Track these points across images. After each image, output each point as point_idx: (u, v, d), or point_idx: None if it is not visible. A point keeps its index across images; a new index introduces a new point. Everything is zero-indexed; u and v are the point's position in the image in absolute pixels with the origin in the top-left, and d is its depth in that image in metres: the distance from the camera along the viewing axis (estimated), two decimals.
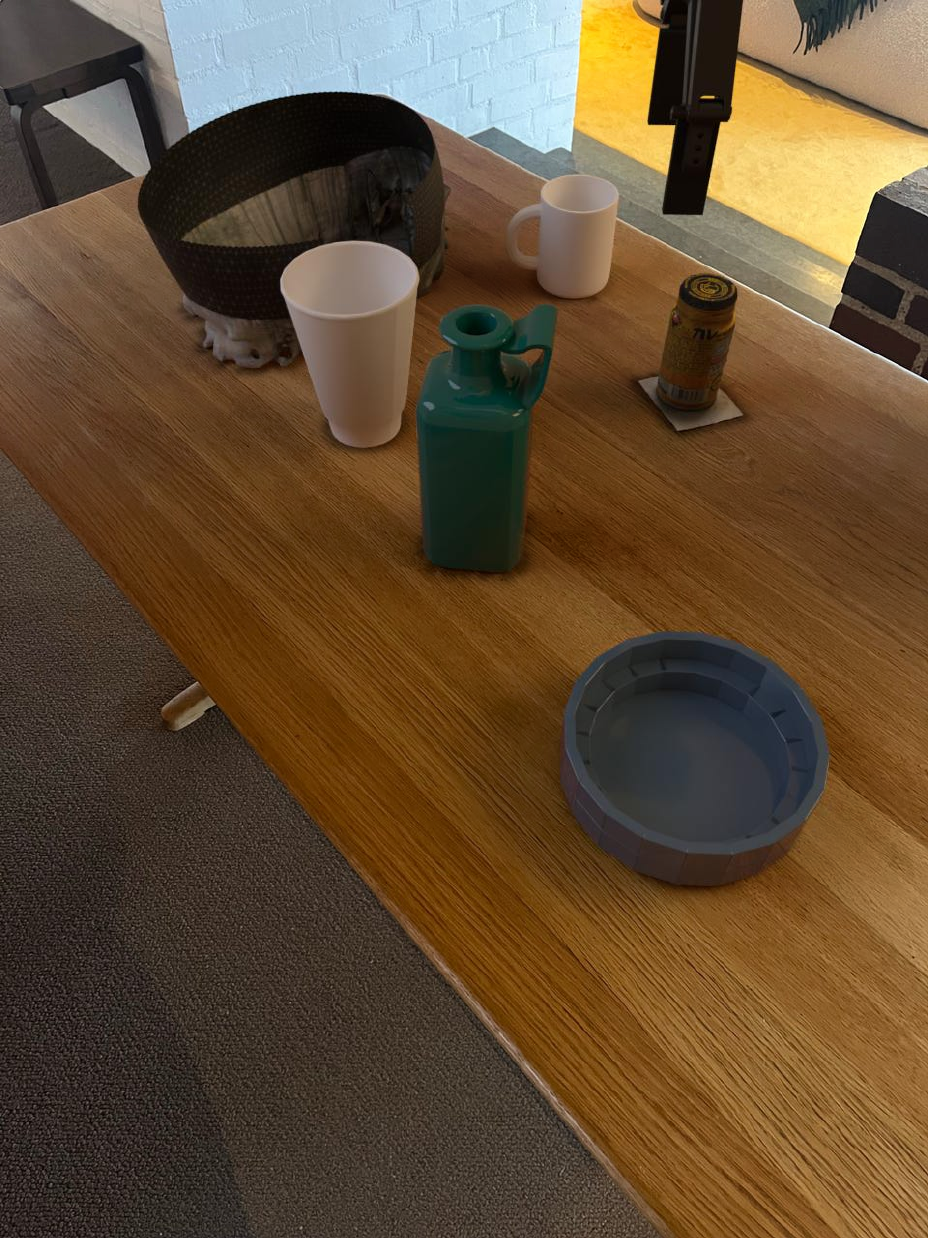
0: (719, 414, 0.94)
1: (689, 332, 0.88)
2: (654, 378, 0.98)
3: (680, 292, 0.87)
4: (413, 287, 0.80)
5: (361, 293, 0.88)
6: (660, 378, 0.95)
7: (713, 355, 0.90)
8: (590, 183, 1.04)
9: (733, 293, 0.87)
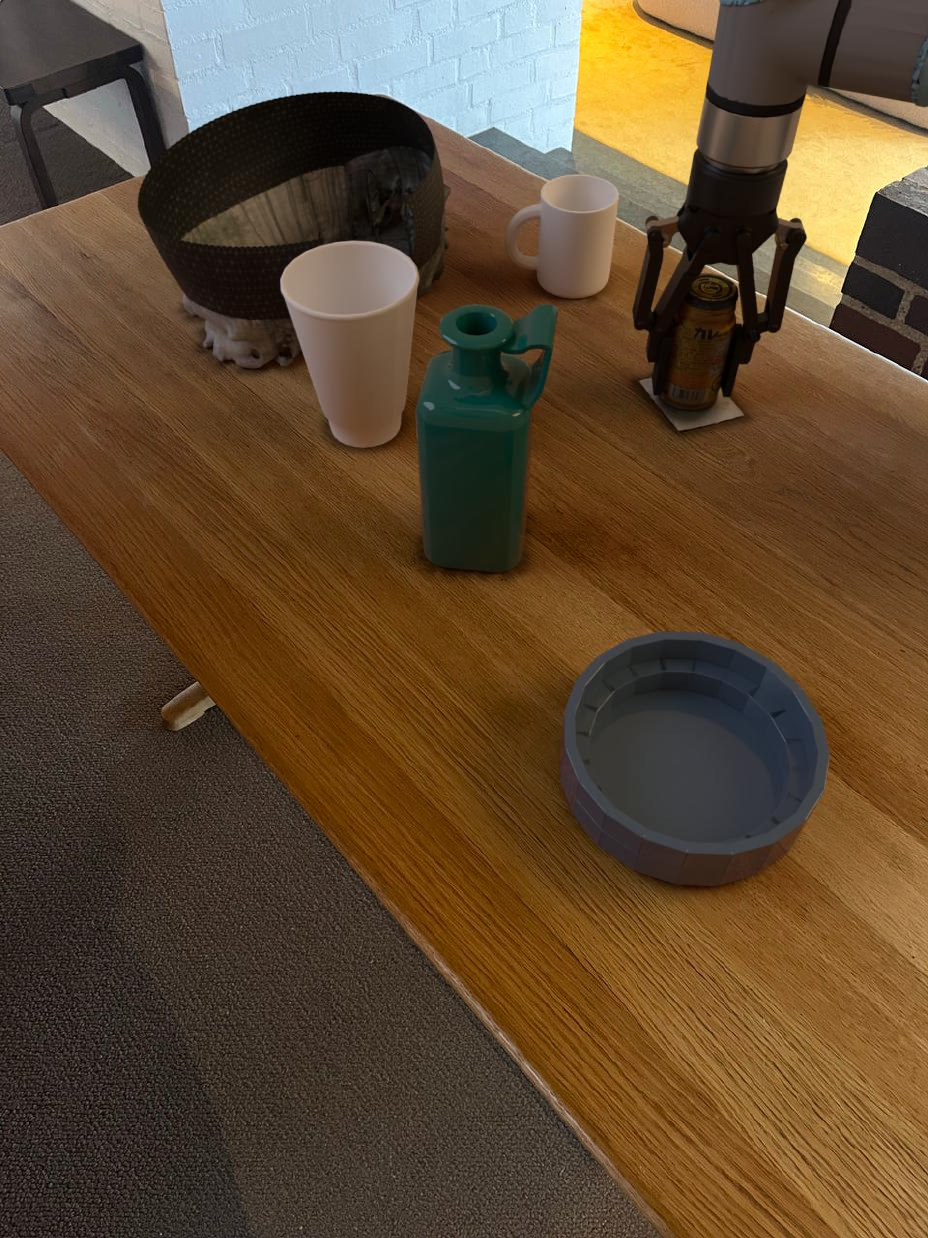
0: (720, 414, 0.94)
1: (690, 332, 0.88)
2: None
3: None
4: (413, 287, 0.80)
5: (361, 292, 0.88)
6: None
7: (714, 355, 0.90)
8: (590, 183, 1.04)
9: (734, 293, 0.87)
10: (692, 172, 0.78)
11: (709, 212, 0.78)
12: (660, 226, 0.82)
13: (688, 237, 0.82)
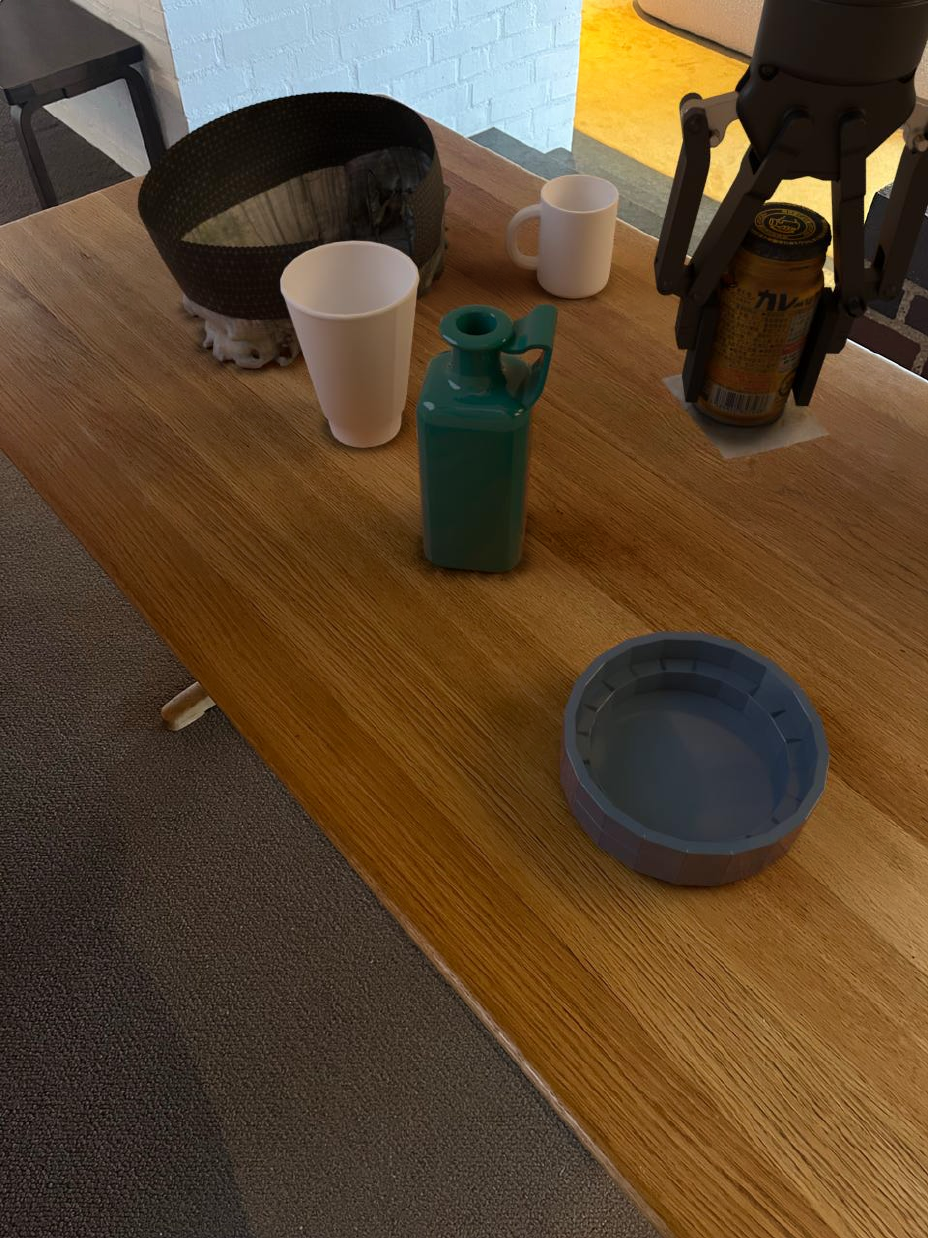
0: (791, 433, 0.59)
1: (749, 299, 0.53)
2: None
3: None
4: (413, 287, 0.80)
5: (361, 293, 0.88)
6: None
7: (788, 337, 0.55)
8: (590, 183, 1.04)
9: (825, 233, 0.52)
10: (767, 2, 0.43)
11: (798, 73, 0.43)
12: (706, 108, 0.47)
13: (755, 128, 0.47)
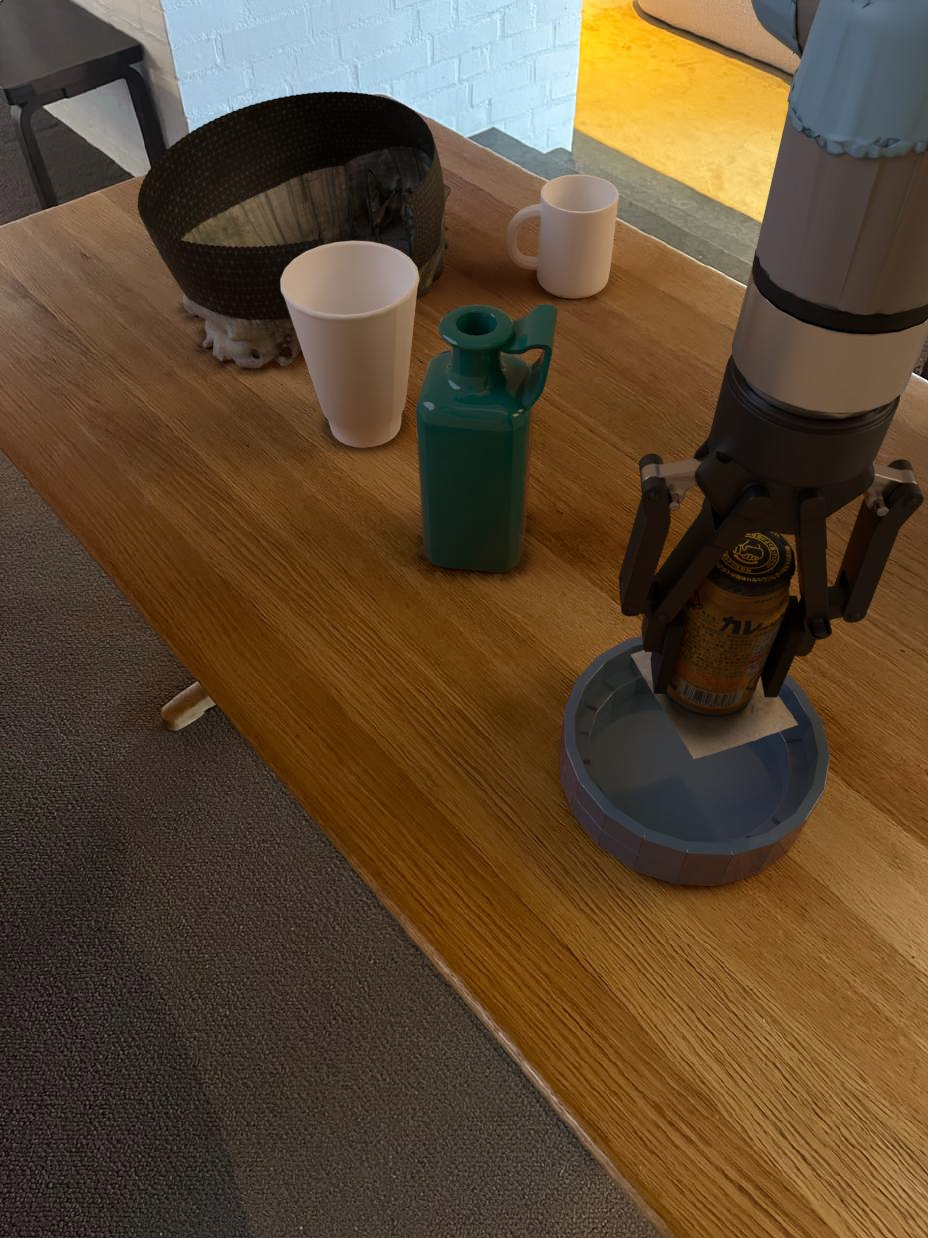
0: (760, 723, 0.59)
1: (714, 623, 0.53)
2: None
3: None
4: (413, 287, 0.80)
5: (361, 292, 0.88)
6: None
7: (754, 652, 0.55)
8: (590, 183, 1.04)
9: (789, 565, 0.52)
10: (723, 401, 0.43)
11: (754, 473, 0.43)
12: (665, 478, 0.46)
13: (714, 497, 0.46)
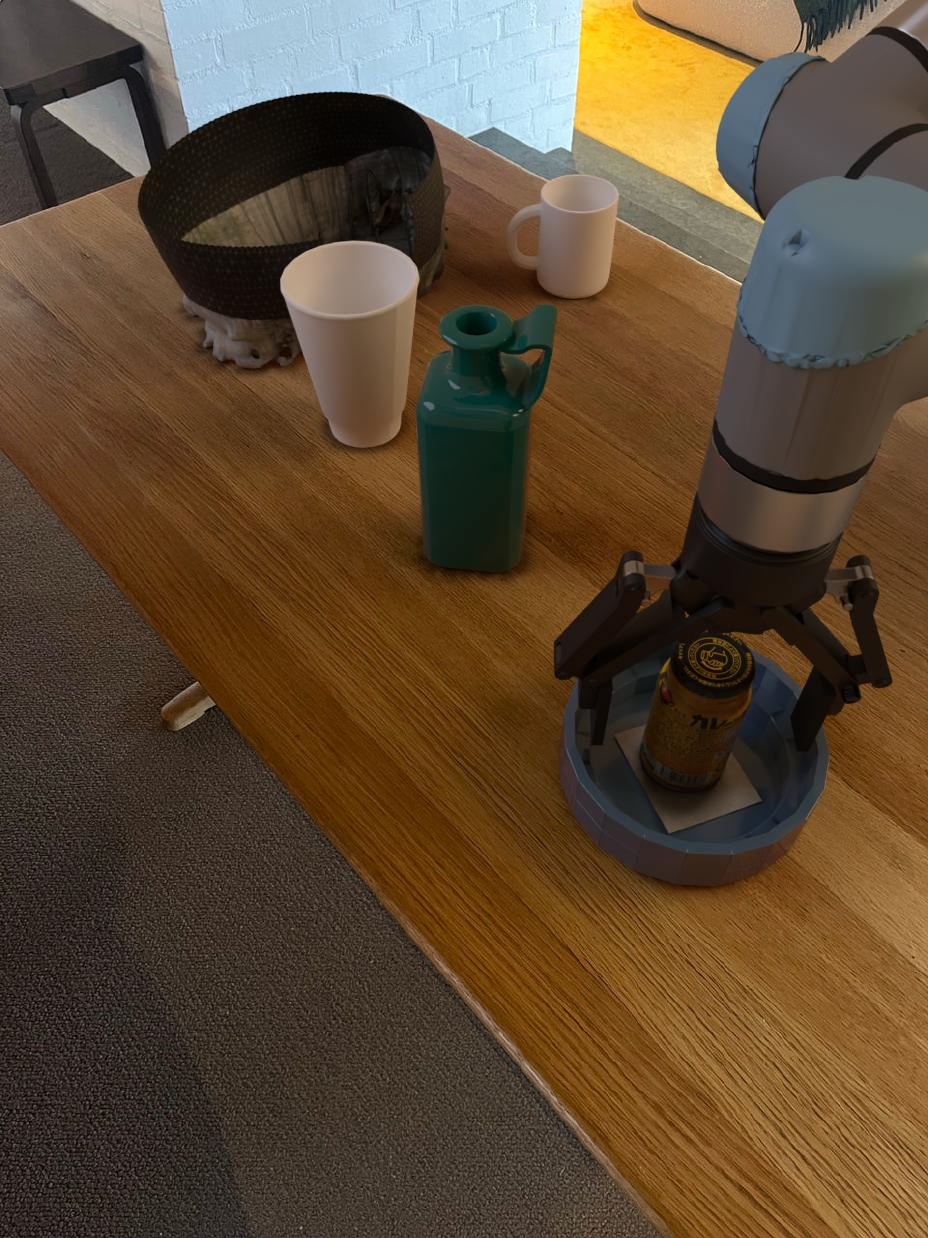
0: (728, 800, 0.67)
1: (685, 719, 0.61)
2: (637, 729, 0.70)
3: (672, 664, 0.60)
4: (413, 287, 0.80)
5: (361, 293, 0.88)
6: (644, 746, 0.67)
7: (720, 742, 0.62)
8: (590, 183, 1.04)
9: (749, 671, 0.59)
10: (691, 530, 0.49)
11: (719, 593, 0.49)
12: (646, 577, 0.52)
13: (686, 605, 0.53)
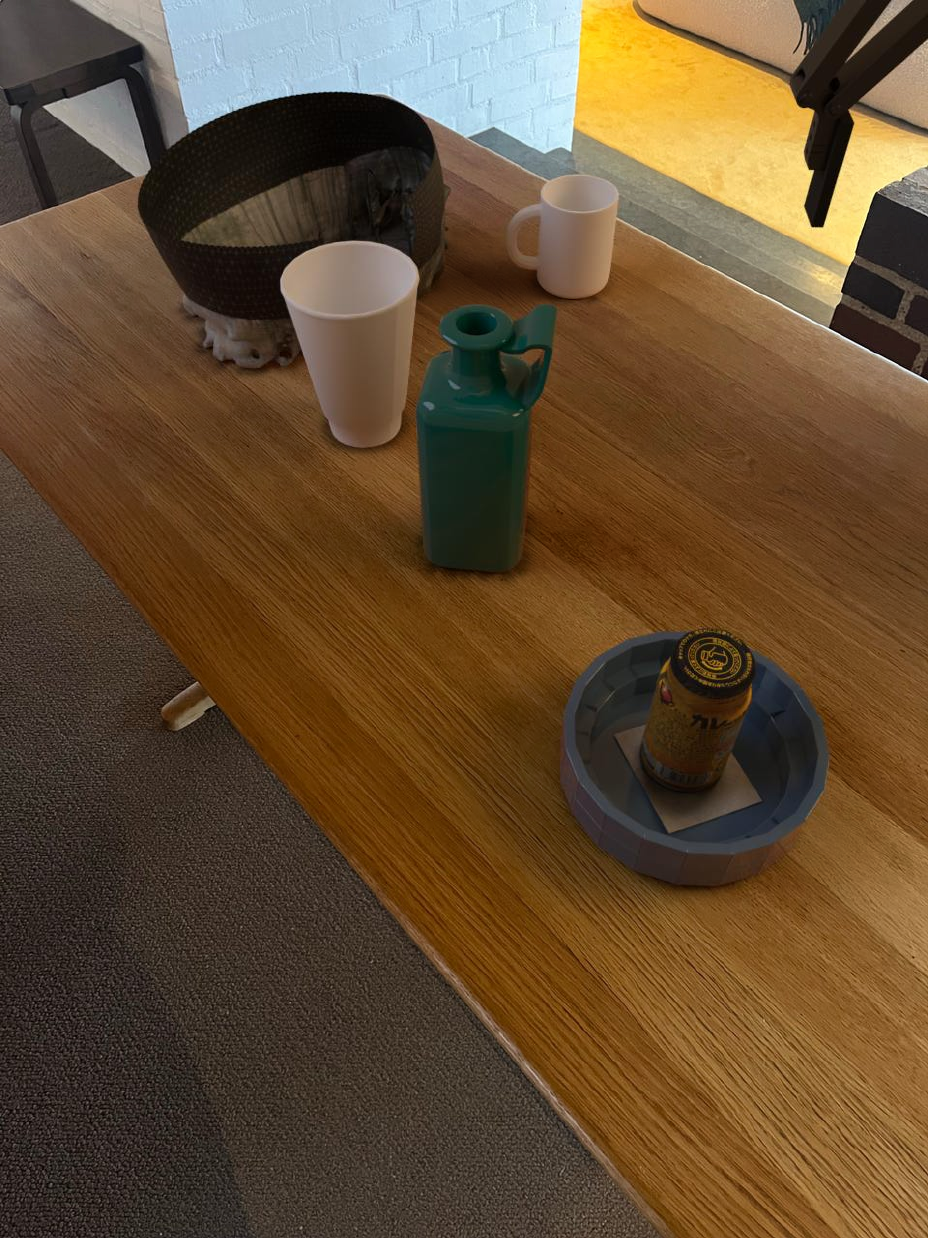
0: (728, 800, 0.67)
1: (685, 719, 0.61)
2: (637, 729, 0.70)
3: (672, 664, 0.60)
4: (413, 287, 0.80)
5: (361, 292, 0.88)
6: (644, 746, 0.67)
7: (720, 742, 0.62)
8: (590, 183, 1.04)
9: (749, 671, 0.59)
10: None
11: None
12: None
13: None
